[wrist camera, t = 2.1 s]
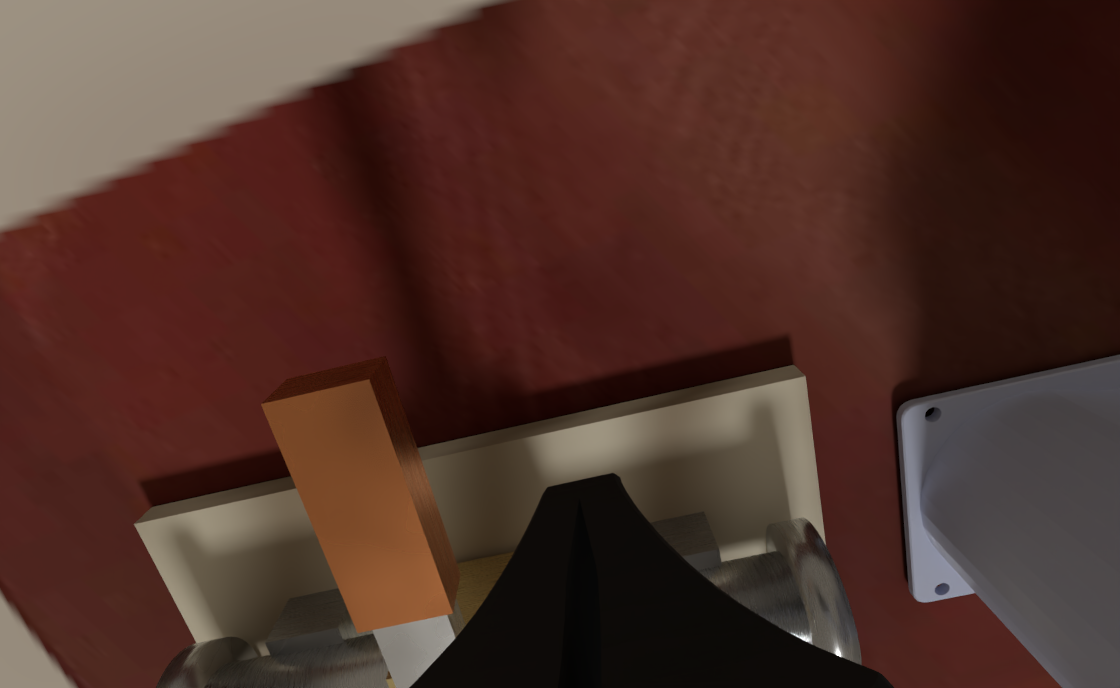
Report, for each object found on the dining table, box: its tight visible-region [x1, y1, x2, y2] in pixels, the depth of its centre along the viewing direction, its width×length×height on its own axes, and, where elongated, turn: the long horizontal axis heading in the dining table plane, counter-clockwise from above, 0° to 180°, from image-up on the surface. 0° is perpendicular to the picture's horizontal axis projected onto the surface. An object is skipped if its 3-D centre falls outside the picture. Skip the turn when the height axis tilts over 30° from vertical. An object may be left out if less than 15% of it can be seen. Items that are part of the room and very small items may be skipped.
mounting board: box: [134, 365, 826, 657], centre depth 23 cm, size 22×12×1 cm, turn 103°
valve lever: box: [261, 356, 466, 688], centre depth 14 cm, size 13×2×1 cm, turn 13°
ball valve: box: [156, 511, 861, 688], centre depth 19 cm, size 20×5×6 cm, turn 103°
